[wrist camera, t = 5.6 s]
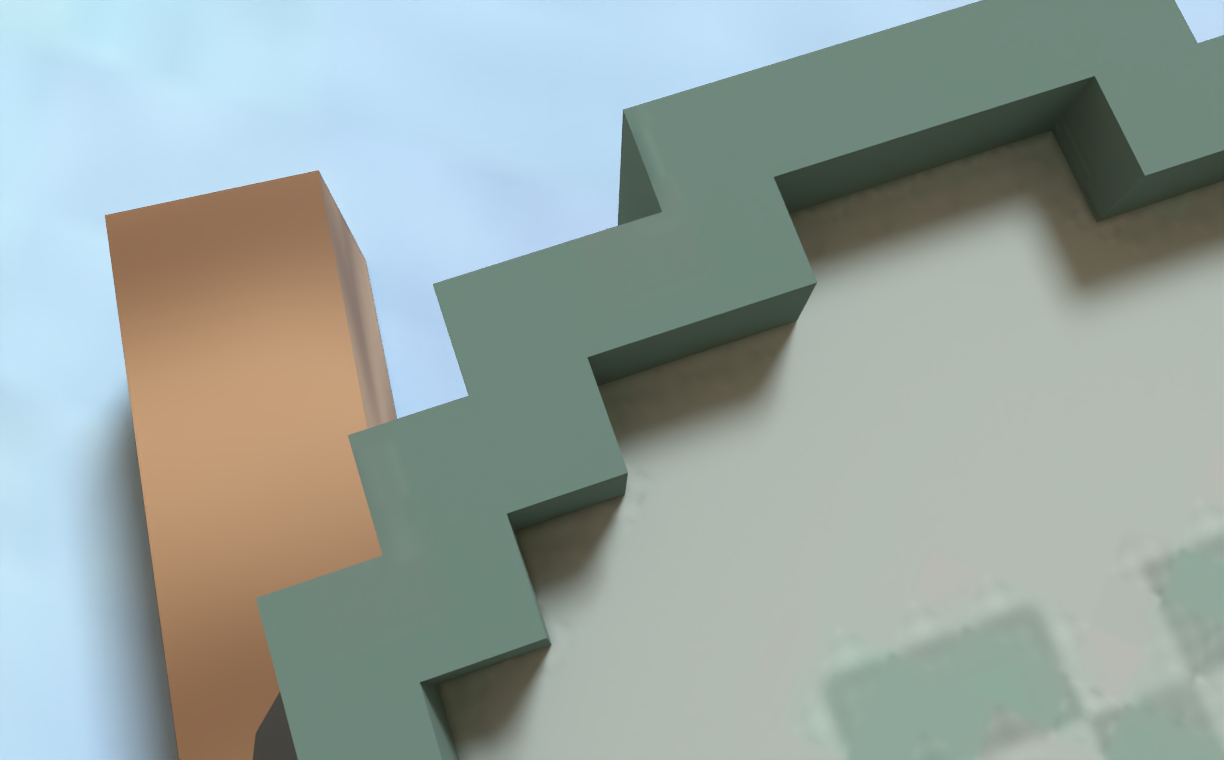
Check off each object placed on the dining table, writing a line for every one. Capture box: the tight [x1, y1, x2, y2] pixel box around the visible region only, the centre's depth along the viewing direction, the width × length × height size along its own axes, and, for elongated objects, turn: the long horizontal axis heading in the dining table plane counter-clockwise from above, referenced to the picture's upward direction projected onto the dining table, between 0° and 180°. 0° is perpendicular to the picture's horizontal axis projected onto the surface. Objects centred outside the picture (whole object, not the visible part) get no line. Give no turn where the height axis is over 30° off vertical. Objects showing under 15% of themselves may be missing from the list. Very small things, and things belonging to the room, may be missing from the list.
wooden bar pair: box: [105, 170, 397, 760], centre depth 17 cm, size 14×14×4 cm
